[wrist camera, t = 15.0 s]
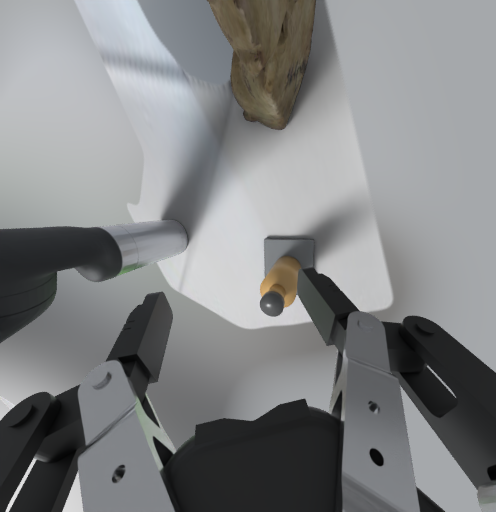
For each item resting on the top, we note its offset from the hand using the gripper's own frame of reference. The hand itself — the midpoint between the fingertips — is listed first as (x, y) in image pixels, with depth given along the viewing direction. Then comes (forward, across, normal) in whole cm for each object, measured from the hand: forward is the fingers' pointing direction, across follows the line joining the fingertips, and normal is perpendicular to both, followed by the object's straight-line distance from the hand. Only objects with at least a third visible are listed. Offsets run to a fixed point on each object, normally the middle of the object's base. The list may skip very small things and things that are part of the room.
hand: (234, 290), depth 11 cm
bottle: (+21, -12, +15) cm, 28 cm away
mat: (+22, -12, +16) cm, 29 cm away
